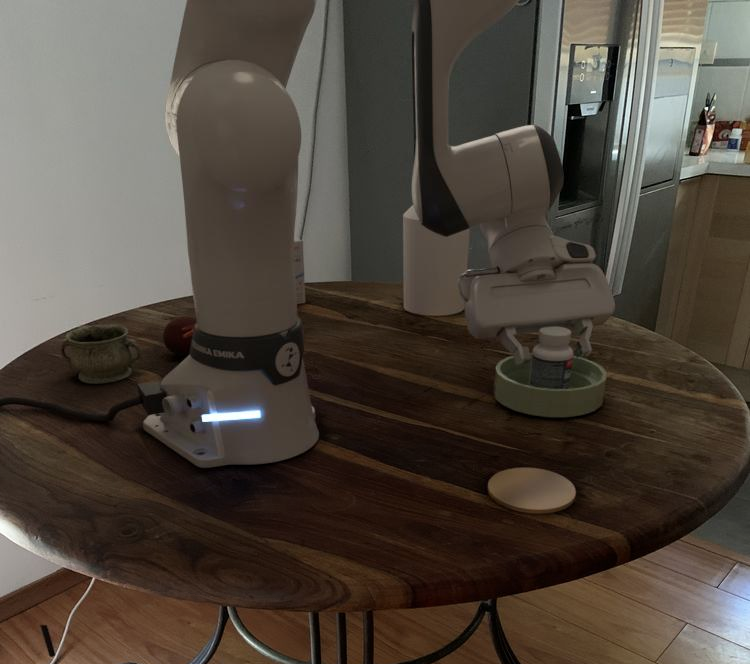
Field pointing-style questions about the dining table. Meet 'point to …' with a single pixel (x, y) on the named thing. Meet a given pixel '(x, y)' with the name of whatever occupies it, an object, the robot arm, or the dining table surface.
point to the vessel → (101, 353)
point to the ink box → (299, 270)
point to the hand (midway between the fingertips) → (554, 358)
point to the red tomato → (179, 335)
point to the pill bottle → (552, 359)
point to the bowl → (545, 401)
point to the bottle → (432, 268)
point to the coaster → (531, 490)
